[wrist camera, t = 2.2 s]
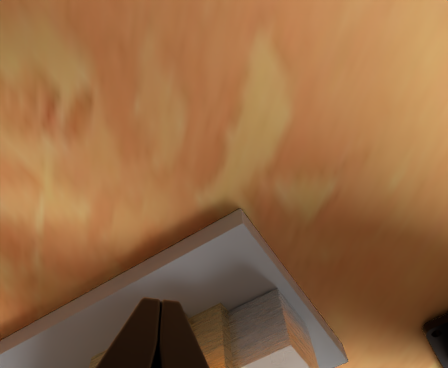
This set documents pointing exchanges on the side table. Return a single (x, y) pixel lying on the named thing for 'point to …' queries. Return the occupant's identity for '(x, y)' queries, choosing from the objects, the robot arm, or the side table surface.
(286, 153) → the side table surface
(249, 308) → the valve
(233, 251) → the board
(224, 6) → the side table surface
